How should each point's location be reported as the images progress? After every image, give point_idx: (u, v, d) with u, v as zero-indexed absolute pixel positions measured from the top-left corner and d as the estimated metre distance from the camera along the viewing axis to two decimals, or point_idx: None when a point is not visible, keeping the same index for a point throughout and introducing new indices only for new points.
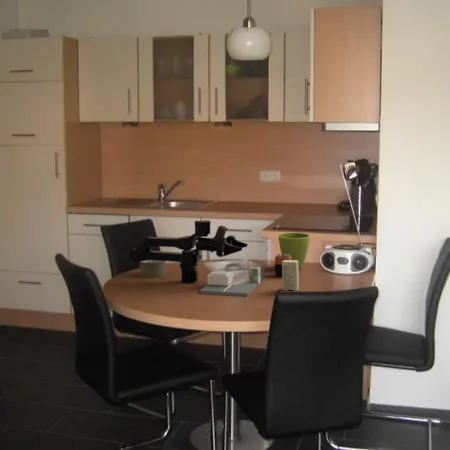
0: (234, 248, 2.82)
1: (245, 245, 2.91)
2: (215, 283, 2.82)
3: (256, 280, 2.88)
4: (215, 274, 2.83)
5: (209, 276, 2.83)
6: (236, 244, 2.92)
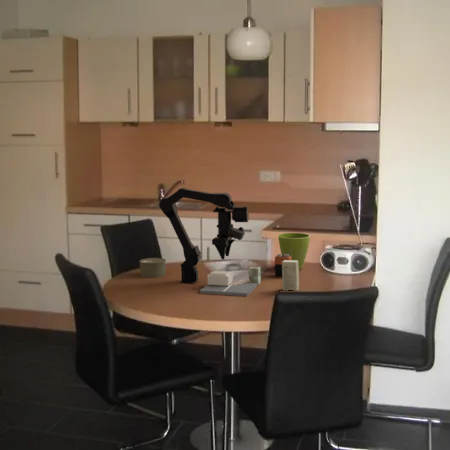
0: (222, 252, 2.87)
1: (226, 254, 2.94)
2: (215, 283, 2.82)
3: (256, 280, 2.88)
4: (215, 274, 2.83)
5: (209, 276, 2.83)
6: (227, 245, 2.94)
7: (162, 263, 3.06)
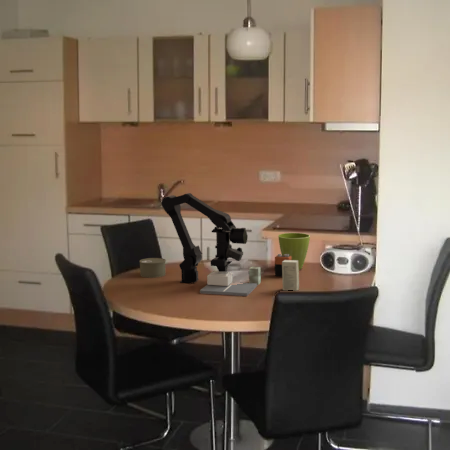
0: None
1: None
2: (215, 283, 2.82)
3: (256, 280, 2.88)
4: (215, 274, 2.83)
5: (209, 276, 2.82)
6: None
7: (162, 263, 3.06)
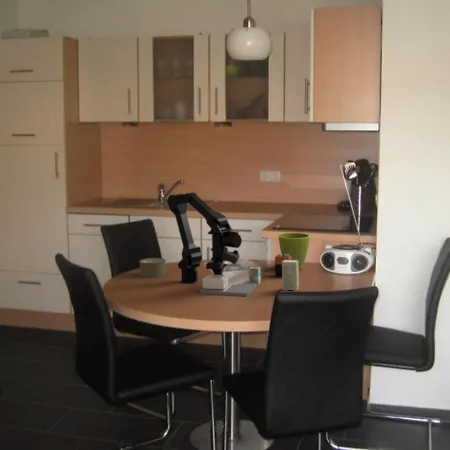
0: None
1: None
2: (210, 287, 2.76)
3: (256, 280, 2.88)
4: (210, 277, 2.77)
5: (204, 280, 2.76)
6: None
7: (162, 263, 3.06)
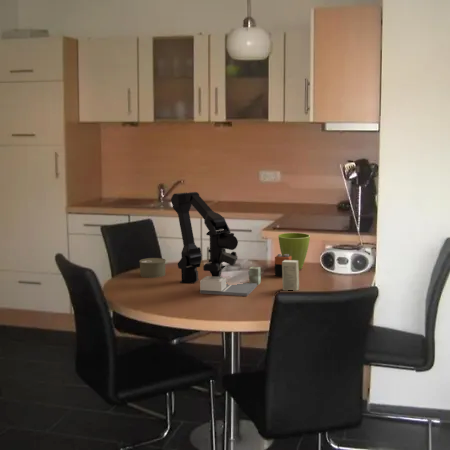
0: None
1: None
2: (208, 289, 2.73)
3: (256, 280, 2.88)
4: (208, 279, 2.74)
5: (202, 281, 2.73)
6: None
7: (162, 263, 3.06)
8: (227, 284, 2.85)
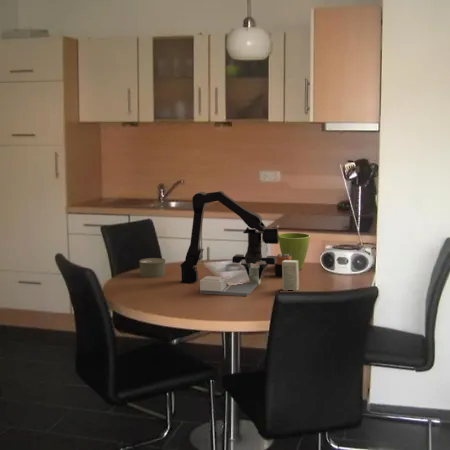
0: None
1: None
2: (208, 289, 2.73)
3: (256, 280, 2.88)
4: (208, 279, 2.73)
5: (202, 281, 2.73)
6: None
7: (162, 263, 3.06)
8: (227, 284, 2.85)
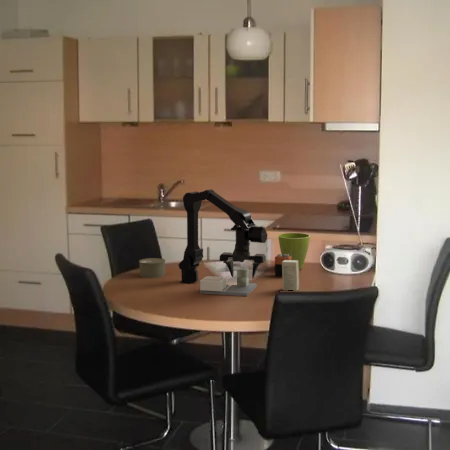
0: None
1: None
2: (208, 289, 2.73)
3: (244, 282, 2.80)
4: (208, 279, 2.73)
5: (202, 281, 2.73)
6: None
7: (161, 263, 3.06)
8: (227, 284, 2.85)
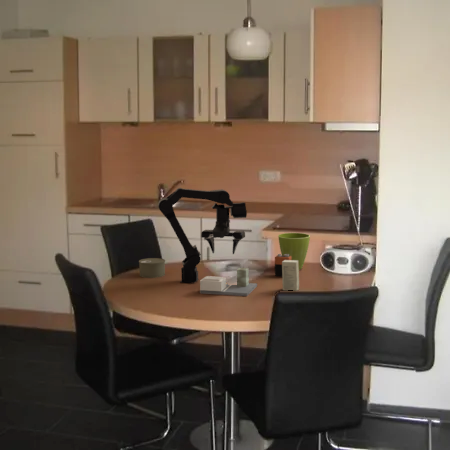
0: None
1: None
2: (208, 289, 2.73)
3: (244, 282, 2.80)
4: (208, 279, 2.73)
5: (202, 281, 2.73)
6: None
7: (161, 263, 3.06)
8: (227, 284, 2.85)
